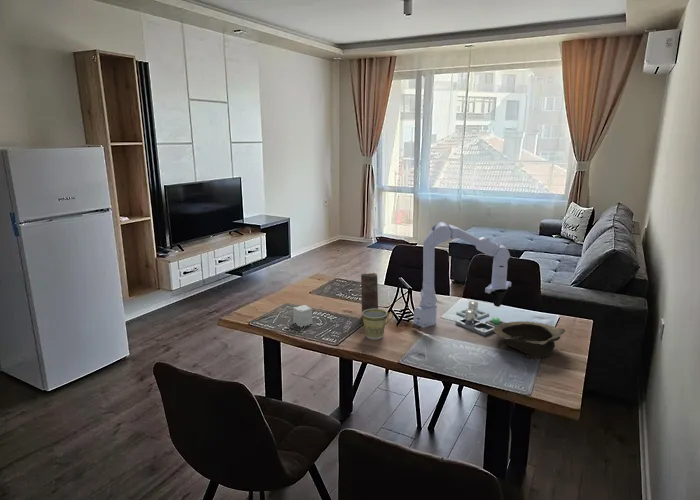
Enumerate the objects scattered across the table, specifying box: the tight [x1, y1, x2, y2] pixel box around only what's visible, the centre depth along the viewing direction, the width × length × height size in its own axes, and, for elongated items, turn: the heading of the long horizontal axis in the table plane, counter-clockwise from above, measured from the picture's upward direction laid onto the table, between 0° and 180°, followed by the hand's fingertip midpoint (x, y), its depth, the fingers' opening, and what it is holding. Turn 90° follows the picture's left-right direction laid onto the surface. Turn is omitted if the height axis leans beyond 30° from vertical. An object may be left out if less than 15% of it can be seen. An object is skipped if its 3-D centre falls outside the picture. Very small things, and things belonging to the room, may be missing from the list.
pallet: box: [455, 317, 495, 337], centre depth 189 cm, size 8×15×2 cm, turn 36°
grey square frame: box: [456, 307, 490, 320], centre depth 203 cm, size 10×10×2 cm
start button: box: [491, 317, 501, 325], centre depth 192 cm, size 3×3×2 cm
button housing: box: [484, 319, 507, 326], centre depth 192 cm, size 6×6×2 cm
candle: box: [360, 272, 379, 313], centre depth 202 cm, size 8×7×20 cm
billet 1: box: [467, 300, 479, 317], centre depth 202 cm, size 4×4×6 cm
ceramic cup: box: [361, 308, 394, 341], centre depth 184 cm, size 13×10×10 cm
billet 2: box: [464, 310, 476, 325], centre depth 191 cm, size 4×4×6 cm
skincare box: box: [292, 304, 314, 328], centre depth 196 cm, size 6×6×7 cm
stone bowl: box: [493, 320, 566, 359], centre depth 172 cm, size 25×25×9 cm
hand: (497, 305), depth 190 cm, fingers closed
